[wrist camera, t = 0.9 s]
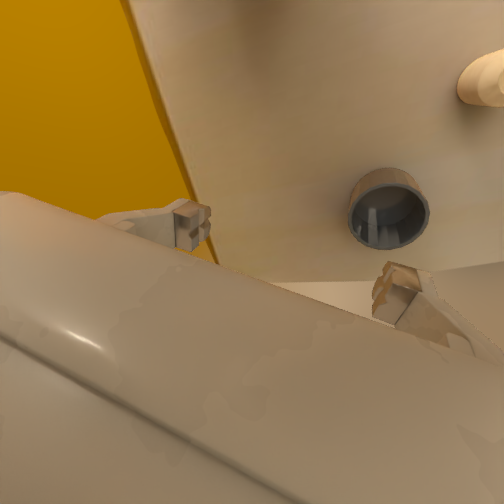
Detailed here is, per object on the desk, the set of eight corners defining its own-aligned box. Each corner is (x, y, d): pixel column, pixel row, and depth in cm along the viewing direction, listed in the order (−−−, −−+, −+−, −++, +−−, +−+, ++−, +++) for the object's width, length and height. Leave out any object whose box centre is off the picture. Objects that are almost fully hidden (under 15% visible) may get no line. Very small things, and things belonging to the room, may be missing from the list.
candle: (523, 58, 31) (576, 46, 23) (490, 109, 34) (527, 113, 26) (474, 49, 32) (509, 35, 24) (446, 99, 35) (469, 101, 27)
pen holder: (351, 170, 44) (348, 185, 37) (423, 164, 40) (435, 180, 33) (350, 226, 49) (347, 248, 42) (414, 226, 45) (423, 251, 38)
